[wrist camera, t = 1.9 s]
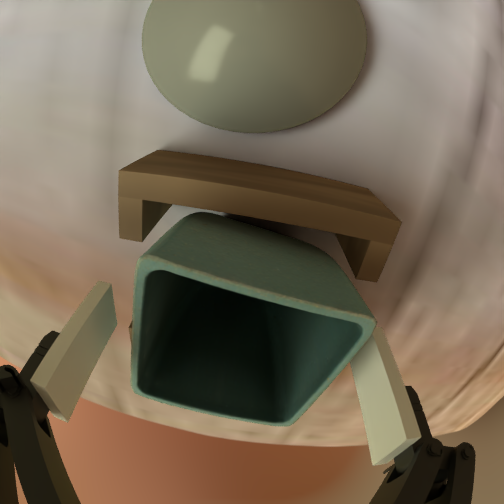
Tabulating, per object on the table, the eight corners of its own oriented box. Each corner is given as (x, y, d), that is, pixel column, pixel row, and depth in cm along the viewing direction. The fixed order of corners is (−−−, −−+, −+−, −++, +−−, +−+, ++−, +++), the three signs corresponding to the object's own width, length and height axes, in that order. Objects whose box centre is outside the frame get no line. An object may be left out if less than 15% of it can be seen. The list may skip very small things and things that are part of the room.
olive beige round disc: (171, -51, 9) (167, -56, 8) (373, -23, 9) (377, -27, 9) (134, 120, 14) (128, 121, 14) (339, 152, 15) (343, 154, 14)
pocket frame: (157, 149, 15) (118, 170, 11) (367, 188, 16) (401, 222, 12) (154, 314, 22) (134, 361, 17) (311, 339, 22) (318, 390, 18)
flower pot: (336, 222, 17) (385, 322, 9) (284, 323, 21) (289, 430, 14) (196, 176, 16) (135, 252, 8) (171, 291, 20) (130, 393, 13)
